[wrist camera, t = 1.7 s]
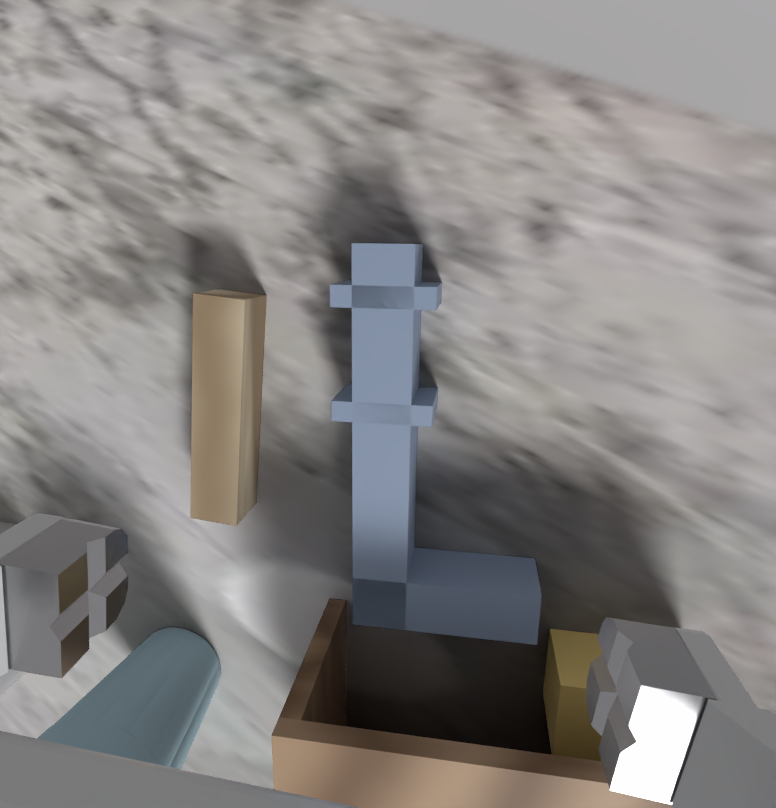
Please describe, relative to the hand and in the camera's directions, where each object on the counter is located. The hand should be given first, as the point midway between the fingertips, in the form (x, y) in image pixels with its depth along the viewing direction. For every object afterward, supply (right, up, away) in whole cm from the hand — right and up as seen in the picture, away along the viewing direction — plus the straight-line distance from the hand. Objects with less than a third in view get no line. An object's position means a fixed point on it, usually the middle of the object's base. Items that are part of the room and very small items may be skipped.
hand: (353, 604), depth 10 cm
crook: (+4, +2, +21) cm, 21 cm away
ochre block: (+12, -12, +23) cm, 29 cm away
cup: (-13, -13, +28) cm, 33 cm away
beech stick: (-8, +4, +22) cm, 24 cm away
